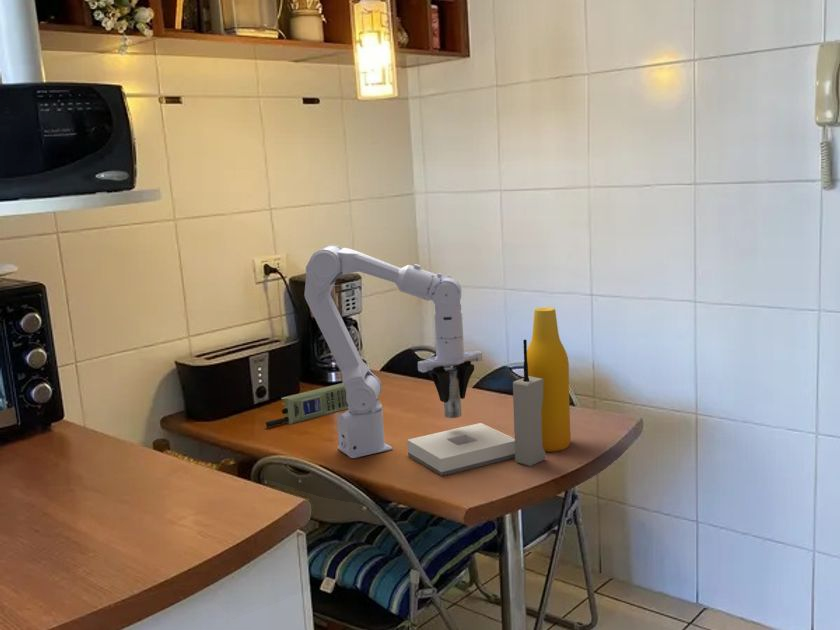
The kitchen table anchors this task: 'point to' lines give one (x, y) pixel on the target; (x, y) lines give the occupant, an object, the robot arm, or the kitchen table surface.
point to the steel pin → (453, 394)
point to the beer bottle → (551, 379)
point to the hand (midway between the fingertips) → (452, 399)
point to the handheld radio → (312, 404)
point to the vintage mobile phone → (528, 417)
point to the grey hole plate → (461, 448)
